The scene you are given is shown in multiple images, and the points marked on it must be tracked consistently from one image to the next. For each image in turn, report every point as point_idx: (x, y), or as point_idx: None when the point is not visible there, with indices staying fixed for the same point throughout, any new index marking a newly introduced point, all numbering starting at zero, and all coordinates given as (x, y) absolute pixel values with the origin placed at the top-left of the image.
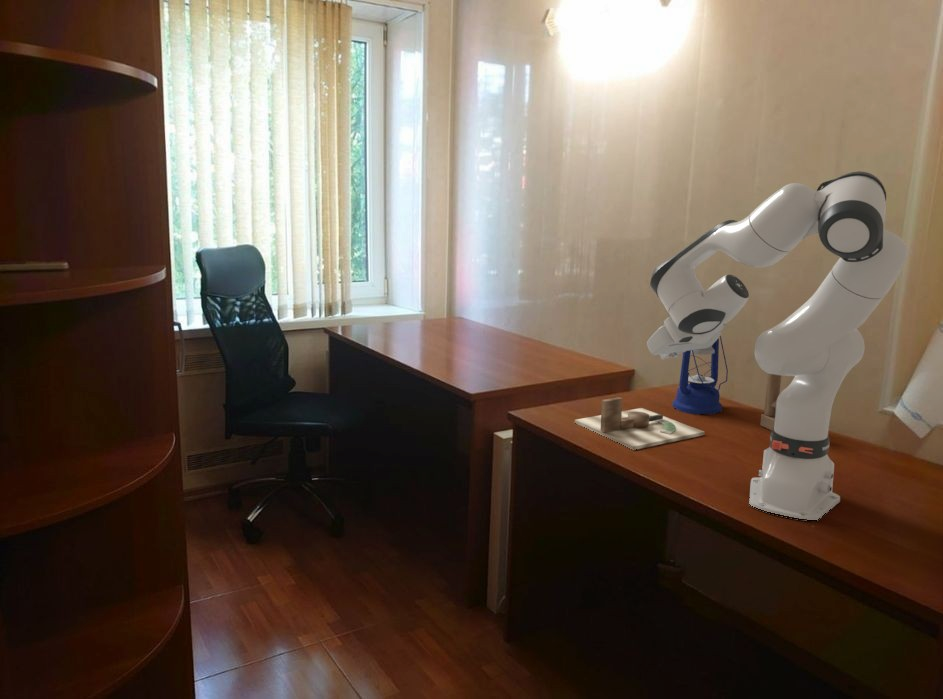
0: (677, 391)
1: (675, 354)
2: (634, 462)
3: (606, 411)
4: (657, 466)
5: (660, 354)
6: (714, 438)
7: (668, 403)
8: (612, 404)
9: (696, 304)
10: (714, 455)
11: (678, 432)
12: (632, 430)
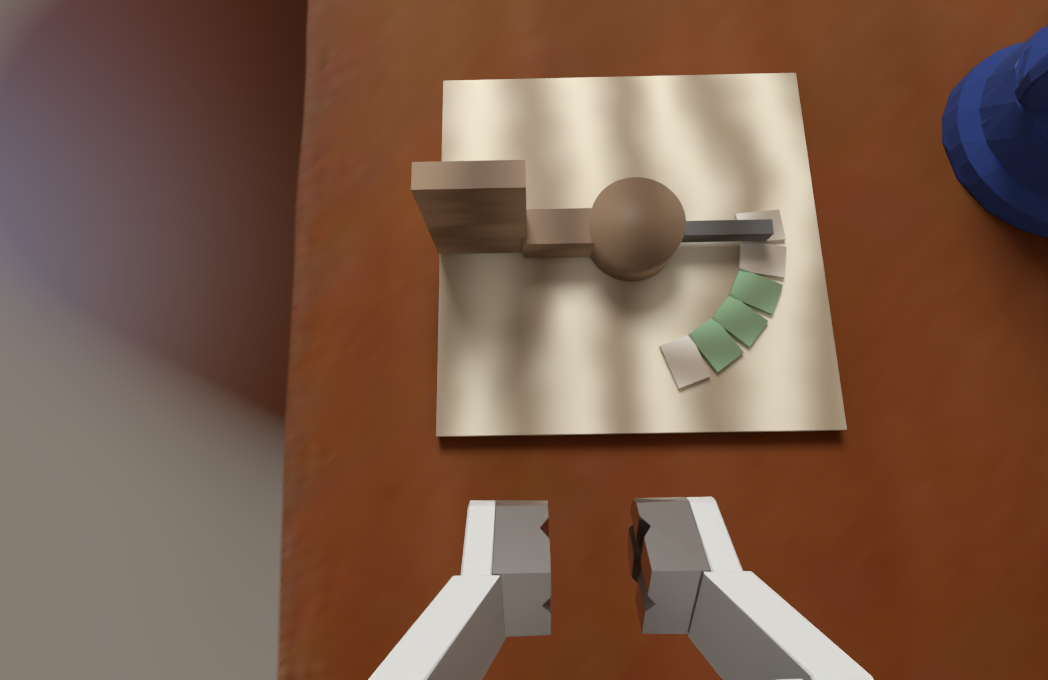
0: (1026, 48)
1: (662, 623)
2: (348, 550)
3: (431, 214)
4: (397, 633)
5: (468, 516)
6: (853, 483)
7: (962, 52)
8: (462, 200)
9: None
10: None
11: (730, 385)
12: (567, 279)
